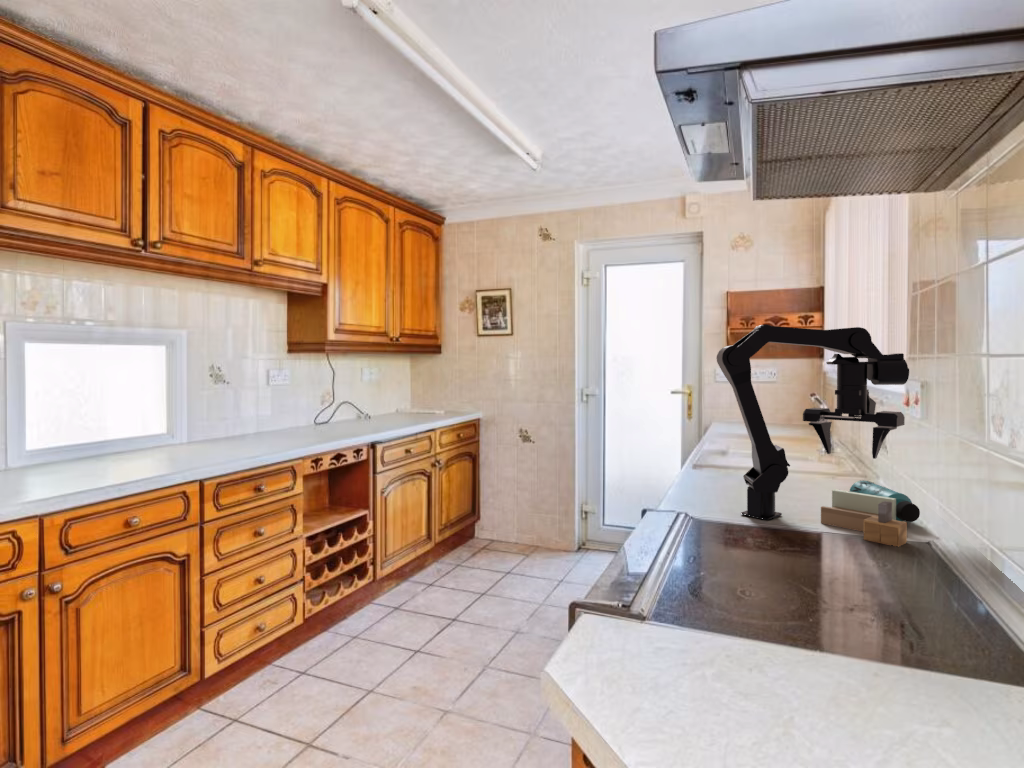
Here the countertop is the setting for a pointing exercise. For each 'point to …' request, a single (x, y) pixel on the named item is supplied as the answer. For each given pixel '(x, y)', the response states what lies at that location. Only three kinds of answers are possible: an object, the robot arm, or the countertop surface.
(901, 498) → the beverage bottle
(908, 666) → the countertop surface
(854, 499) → the wooden stand with panel
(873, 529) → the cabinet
